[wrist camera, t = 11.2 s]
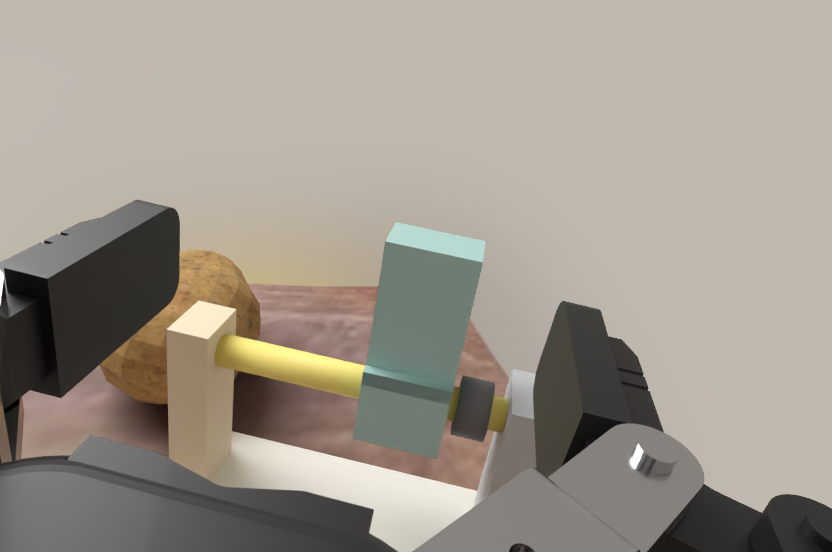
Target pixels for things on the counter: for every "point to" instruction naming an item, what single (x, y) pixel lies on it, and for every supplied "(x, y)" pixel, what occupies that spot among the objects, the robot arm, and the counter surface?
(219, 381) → the stand
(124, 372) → the potato
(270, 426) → the counter surface
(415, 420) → the tall teal block
